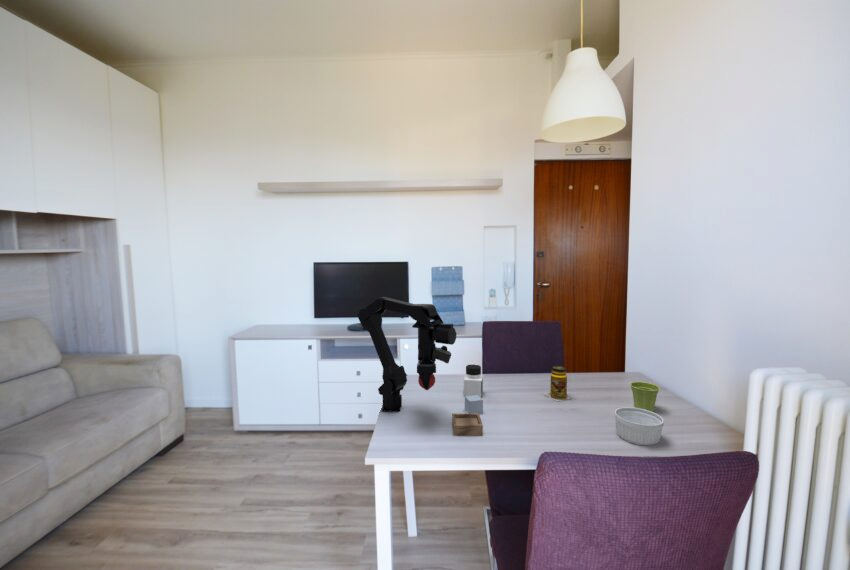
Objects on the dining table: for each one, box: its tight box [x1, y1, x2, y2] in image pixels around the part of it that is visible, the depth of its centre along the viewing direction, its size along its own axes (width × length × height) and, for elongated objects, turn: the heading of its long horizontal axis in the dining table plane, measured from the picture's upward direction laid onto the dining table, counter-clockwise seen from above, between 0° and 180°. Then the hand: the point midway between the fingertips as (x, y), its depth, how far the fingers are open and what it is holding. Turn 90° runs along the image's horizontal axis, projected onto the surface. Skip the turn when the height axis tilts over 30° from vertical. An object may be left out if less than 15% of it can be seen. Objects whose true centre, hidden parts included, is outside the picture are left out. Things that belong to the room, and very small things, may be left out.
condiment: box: [543, 365, 572, 402], centre depth 149 cm, size 7×8×12 cm
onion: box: [417, 373, 436, 391], centre depth 130 cm, size 6×6×8 cm
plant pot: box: [629, 381, 661, 412], centre depth 136 cm, size 9×9×9 cm
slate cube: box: [464, 395, 484, 415], centre depth 136 cm, size 5×5×5 cm
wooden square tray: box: [451, 412, 484, 437], centre depth 122 cm, size 9×9×4 cm
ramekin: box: [614, 406, 665, 446], centre depth 115 cm, size 13×13×7 cm
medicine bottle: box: [463, 363, 484, 399], centre depth 152 cm, size 7×7×12 cm
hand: (426, 385), depth 130 cm, fingers closed on onion, 6 cm apart
